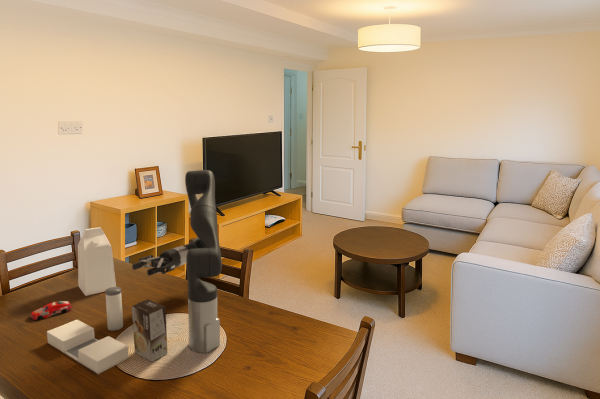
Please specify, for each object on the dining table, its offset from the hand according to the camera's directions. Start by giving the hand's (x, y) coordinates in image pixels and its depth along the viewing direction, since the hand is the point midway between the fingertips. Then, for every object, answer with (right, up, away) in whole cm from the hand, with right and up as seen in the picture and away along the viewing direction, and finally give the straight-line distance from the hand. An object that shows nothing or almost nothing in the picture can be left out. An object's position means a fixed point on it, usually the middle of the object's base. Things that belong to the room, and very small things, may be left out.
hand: (140, 270), depth 156 cm
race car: (-34, -17, +2) cm, 38 cm away
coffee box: (+11, -23, -20) cm, 33 cm away
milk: (-28, -12, +25) cm, 39 cm away
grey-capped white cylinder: (-7, -19, -6) cm, 21 cm away
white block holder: (-9, -22, -20) cm, 31 cm away
